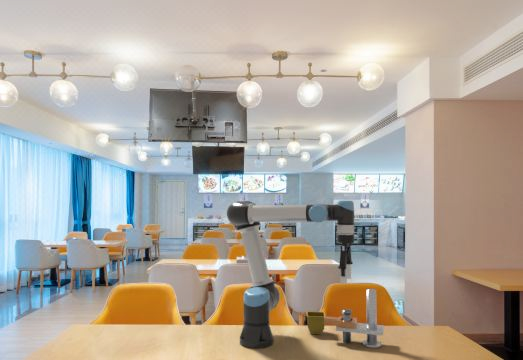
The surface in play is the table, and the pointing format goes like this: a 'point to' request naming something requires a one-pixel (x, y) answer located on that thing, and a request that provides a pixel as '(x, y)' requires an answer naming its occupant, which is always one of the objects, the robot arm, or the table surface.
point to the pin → (346, 318)
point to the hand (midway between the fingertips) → (345, 281)
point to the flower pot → (315, 322)
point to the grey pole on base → (368, 328)
